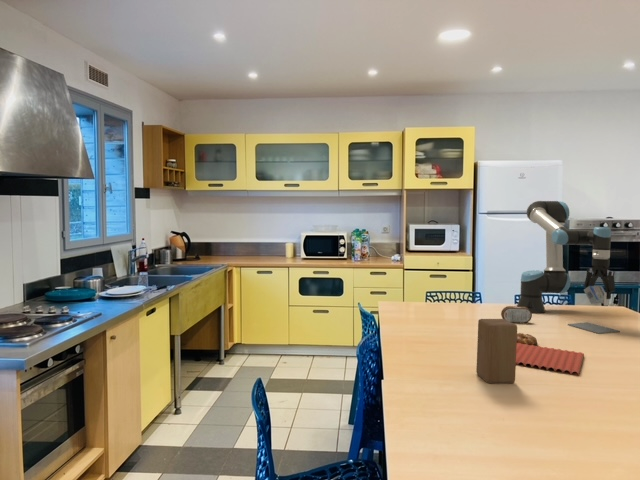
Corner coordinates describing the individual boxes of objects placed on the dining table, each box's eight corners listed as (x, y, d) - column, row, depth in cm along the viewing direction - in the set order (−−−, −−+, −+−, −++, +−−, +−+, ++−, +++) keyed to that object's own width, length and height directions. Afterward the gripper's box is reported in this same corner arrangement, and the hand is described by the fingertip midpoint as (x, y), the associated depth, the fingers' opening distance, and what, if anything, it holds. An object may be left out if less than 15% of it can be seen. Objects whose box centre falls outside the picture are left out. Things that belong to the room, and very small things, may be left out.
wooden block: (475, 373, 169) (477, 318, 167) (502, 373, 170) (504, 318, 168) (487, 384, 159) (489, 325, 157) (516, 383, 160) (518, 325, 158)
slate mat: (567, 325, 245) (567, 323, 245) (588, 323, 249) (588, 322, 249) (598, 333, 228) (598, 332, 228) (619, 331, 233) (619, 330, 232)
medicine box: (589, 285, 235) (602, 285, 238) (582, 290, 239) (595, 289, 242) (597, 299, 231) (610, 299, 234) (590, 304, 235) (603, 303, 238)
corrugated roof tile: (578, 377, 168) (579, 372, 168) (496, 363, 183) (496, 358, 183) (583, 357, 192) (584, 352, 192) (510, 346, 207) (510, 341, 206)
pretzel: (531, 349, 202) (531, 340, 202) (505, 343, 209) (506, 335, 209) (541, 343, 210) (541, 335, 210) (516, 338, 218) (516, 330, 218)
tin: (530, 322, 250) (530, 306, 249) (532, 323, 247) (532, 307, 246) (500, 321, 251) (501, 305, 251) (502, 322, 248) (502, 306, 247)
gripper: (577, 256, 245) (575, 300, 246) (614, 260, 225) (612, 308, 226) (588, 256, 247) (586, 299, 248) (626, 260, 227) (623, 307, 229)
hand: (598, 303), depth 237 cm, fingers closed on medicine box, 8 cm apart
